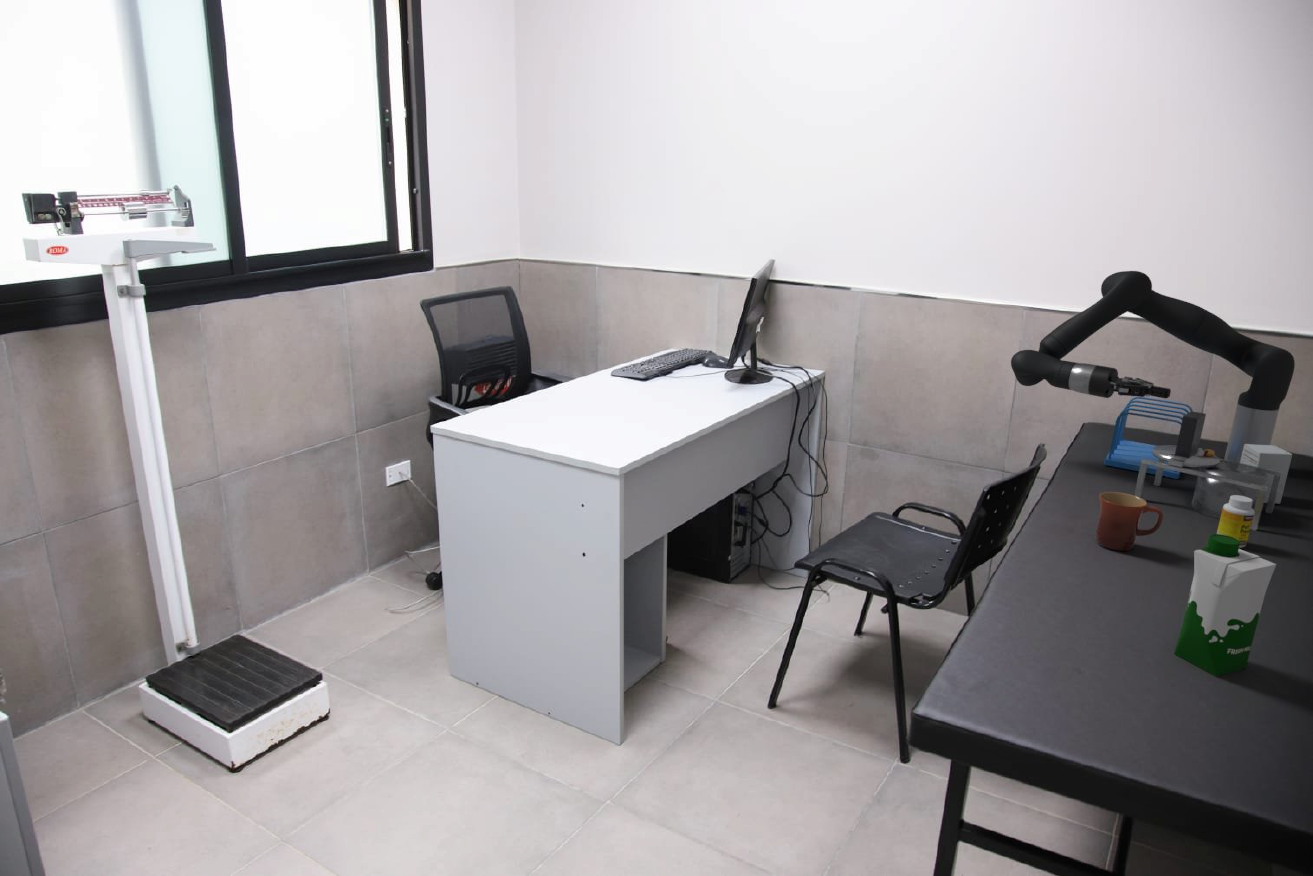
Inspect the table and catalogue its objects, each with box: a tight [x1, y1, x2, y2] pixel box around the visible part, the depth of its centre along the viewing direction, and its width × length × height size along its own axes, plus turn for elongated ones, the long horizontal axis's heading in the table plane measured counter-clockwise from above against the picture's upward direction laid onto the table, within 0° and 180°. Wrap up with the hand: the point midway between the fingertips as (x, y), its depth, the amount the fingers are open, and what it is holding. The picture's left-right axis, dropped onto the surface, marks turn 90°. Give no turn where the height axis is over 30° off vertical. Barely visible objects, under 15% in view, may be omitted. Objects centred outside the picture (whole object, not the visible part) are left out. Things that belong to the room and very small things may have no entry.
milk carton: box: [1173, 533, 1277, 677], centre depth 134 cm, size 9×9×20 cm
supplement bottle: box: [1216, 495, 1254, 549], centre depth 182 cm, size 6×6×10 cm
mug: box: [1095, 491, 1164, 552], centre depth 178 cm, size 12×9×10 cm
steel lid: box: [1152, 410, 1221, 469], centre depth 204 cm, size 14×16×11 cm
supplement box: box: [1240, 444, 1293, 504], centre depth 210 cm, size 7×7×13 cm
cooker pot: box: [1134, 458, 1282, 532], centre depth 203 cm, size 25×16×10 cm, turn 45°
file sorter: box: [1103, 396, 1194, 480], centre depth 235 cm, size 25×17×15 cm
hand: (1169, 393), depth 205 cm, fingers closed
